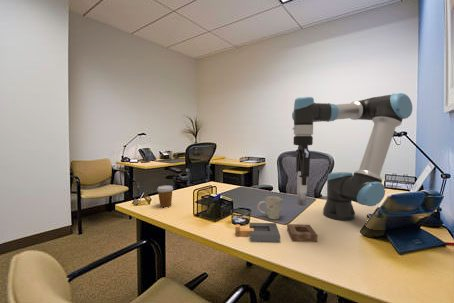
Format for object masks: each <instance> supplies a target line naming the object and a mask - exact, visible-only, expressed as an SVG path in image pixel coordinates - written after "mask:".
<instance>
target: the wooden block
mask: <svg viewBox="0 0 454 303" xmlns="http://www.w3.org/2000/svg"><path fill="white" fill-rule="evenodd" d="M234 231H235V237H250V231H254V228H249V227H241V224H235V230H234Z"/></svg>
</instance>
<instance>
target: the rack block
mask: <svg viewBox="0 0 454 303" xmlns="http://www.w3.org/2000/svg"><path fill="white" fill-rule="evenodd" d="M286 231H287V234H288V235H289V238H290V240H291V241H292V242H299V243H300V242H303V243H305V242H306V243H310V242H311V243H317V242H318V234H317V233H316V231H315V230H314V228H313V227H312V226H311V224H300V223H299V224H298V223H296V224H295V223H293V224H292V223H291V224H290V223H287V224H286Z"/></svg>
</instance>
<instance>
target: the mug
mask: <svg viewBox="0 0 454 303" xmlns="http://www.w3.org/2000/svg"><path fill="white" fill-rule="evenodd" d="M282 202H283V199H282V198H281V197H278V196H267V197H265V200H261V201H259V202H258V204H257V210H258V211H259V212H260V213H261V214H267V218H268V219H270V220H280V218H281V217H280V216H281V209H282V208H281V207H282ZM262 204H265V206H266V211H263V210H261V205H262Z"/></svg>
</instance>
